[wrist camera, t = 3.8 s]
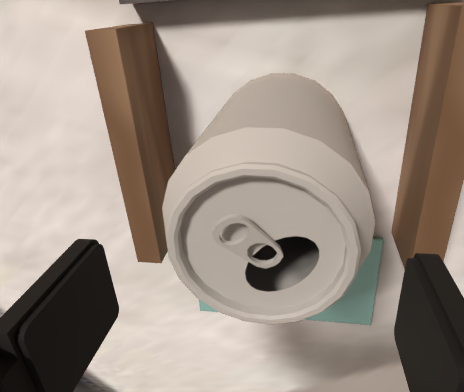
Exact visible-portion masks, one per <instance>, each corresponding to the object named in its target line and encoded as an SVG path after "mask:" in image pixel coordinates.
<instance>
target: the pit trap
mask: <svg viewBox="0 0 464 392" xmlns="http://www.w3.org/2000/svg"><path fill="white" fill-rule="evenodd" d="M161 1H174V0H119V2H120V4H136V3H149V2H161Z"/></svg>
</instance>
